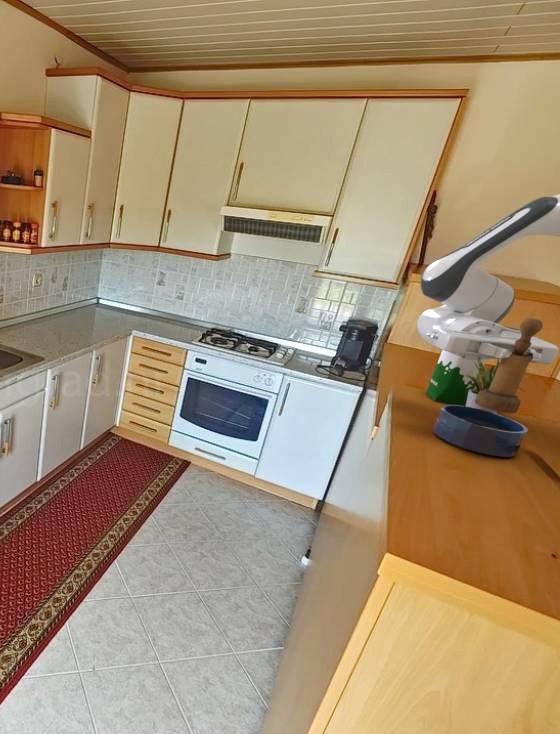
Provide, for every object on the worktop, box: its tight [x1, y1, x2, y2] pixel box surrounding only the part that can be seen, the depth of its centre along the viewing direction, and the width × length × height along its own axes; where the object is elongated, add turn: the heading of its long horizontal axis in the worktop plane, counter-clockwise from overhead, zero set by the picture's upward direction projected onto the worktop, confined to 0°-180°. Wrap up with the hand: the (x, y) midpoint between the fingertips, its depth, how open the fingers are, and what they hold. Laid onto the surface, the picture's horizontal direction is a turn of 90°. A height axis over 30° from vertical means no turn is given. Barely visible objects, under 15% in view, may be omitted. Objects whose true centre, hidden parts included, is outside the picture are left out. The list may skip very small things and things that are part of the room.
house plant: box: [463, 359, 544, 414], centre depth 118 cm, size 14×14×16 cm
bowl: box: [432, 404, 529, 458], centre depth 105 cm, size 14×14×6 cm
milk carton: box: [425, 349, 488, 406], centre depth 129 cm, size 9×9×20 cm
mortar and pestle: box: [475, 317, 544, 414], centre depth 94 cm, size 7×6×18 cm
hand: (521, 356), depth 93 cm, fingers closed on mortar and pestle, 4 cm apart
